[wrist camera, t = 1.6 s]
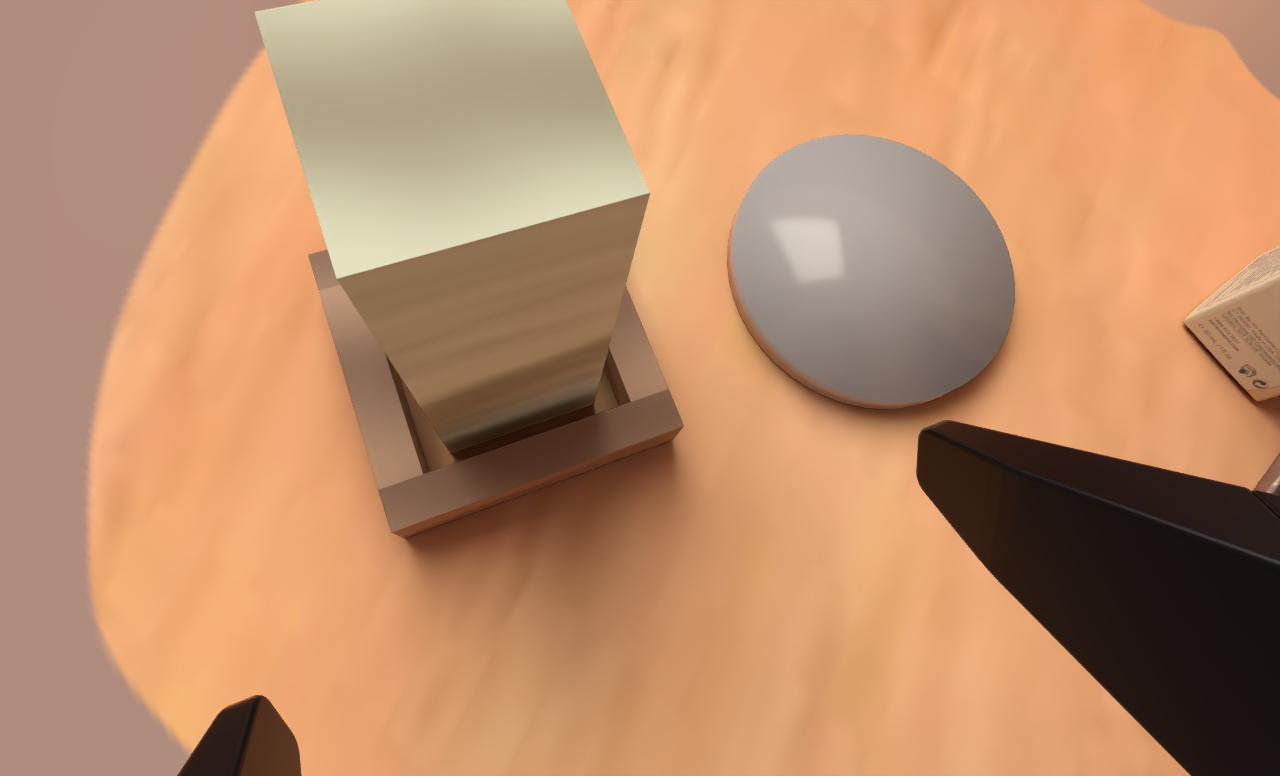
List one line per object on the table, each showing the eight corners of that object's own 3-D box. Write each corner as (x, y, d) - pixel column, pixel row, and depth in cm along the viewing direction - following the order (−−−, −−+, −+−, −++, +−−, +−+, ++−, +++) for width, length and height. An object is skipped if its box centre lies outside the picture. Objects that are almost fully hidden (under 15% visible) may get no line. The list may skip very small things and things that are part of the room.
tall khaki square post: (594, 404, 23) (649, 192, 11) (450, 453, 22) (336, 278, 10) (544, 277, 25) (547, -42, 12) (406, 318, 23) (254, 11, 11)
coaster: (1003, 430, 25) (1021, 424, 24) (714, 382, 24) (721, 374, 23) (993, 178, 29) (1009, 163, 28) (739, 127, 28) (746, 110, 27)
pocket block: (672, 439, 23) (683, 426, 22) (404, 538, 21) (391, 532, 19) (579, 213, 25) (582, 182, 24) (327, 282, 23) (308, 254, 21)
